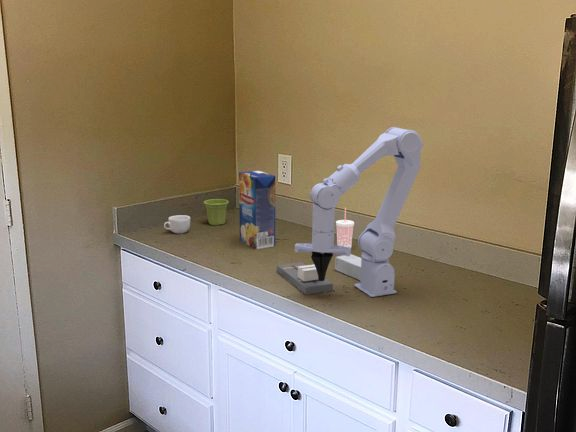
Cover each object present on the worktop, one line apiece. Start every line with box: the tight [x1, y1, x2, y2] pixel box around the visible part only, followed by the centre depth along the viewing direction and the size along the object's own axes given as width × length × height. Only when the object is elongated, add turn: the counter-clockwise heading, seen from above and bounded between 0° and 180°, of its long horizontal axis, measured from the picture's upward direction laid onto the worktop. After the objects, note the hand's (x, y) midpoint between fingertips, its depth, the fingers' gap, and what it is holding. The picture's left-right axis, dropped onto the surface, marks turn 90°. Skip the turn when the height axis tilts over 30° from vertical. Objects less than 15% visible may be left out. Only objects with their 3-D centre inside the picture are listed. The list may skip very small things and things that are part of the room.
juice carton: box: [238, 170, 276, 250], centre depth 205 cm, size 12×8×24 cm, turn 31°
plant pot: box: [203, 198, 229, 226], centre depth 233 cm, size 9×9×9 cm
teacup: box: [163, 214, 191, 235], centre depth 221 cm, size 10×8×5 cm
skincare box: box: [334, 253, 361, 282], centre depth 178 cm, size 6×4×12 cm
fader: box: [298, 264, 318, 281], centre depth 167 cm, size 4×6×3 cm, turn 113°
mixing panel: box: [276, 261, 334, 295], centre depth 172 cm, size 20×8×2 cm, turn 23°
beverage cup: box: [335, 206, 355, 248], centre depth 202 cm, size 6×6×14 cm
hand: (321, 279), depth 161 cm, fingers closed
